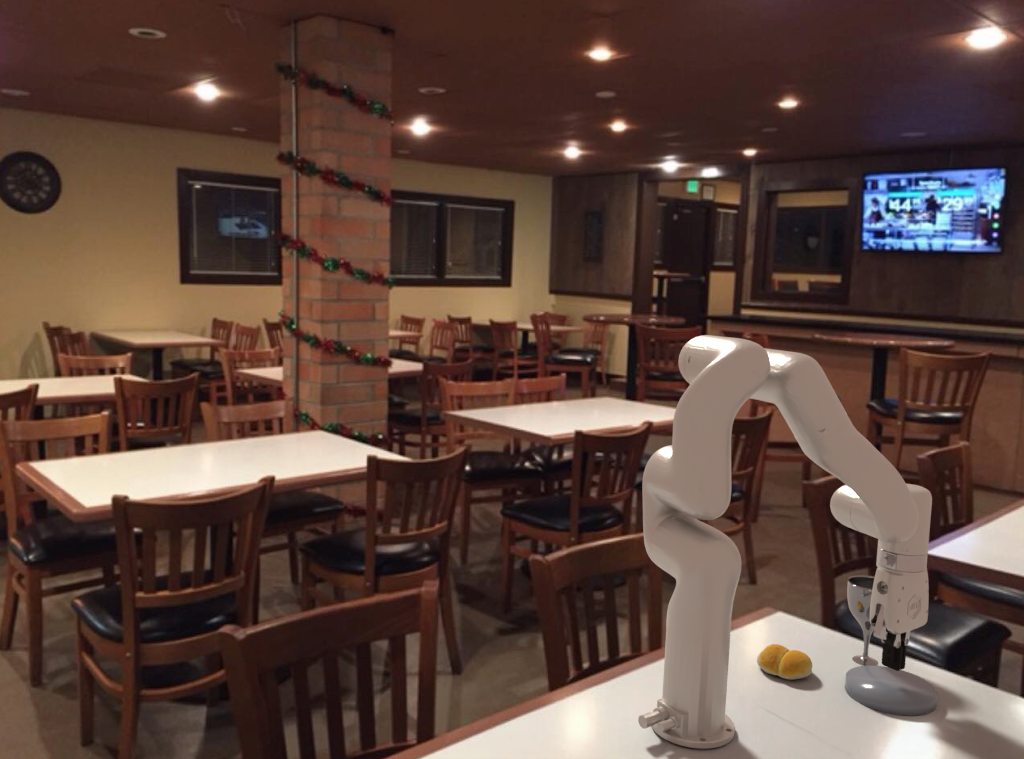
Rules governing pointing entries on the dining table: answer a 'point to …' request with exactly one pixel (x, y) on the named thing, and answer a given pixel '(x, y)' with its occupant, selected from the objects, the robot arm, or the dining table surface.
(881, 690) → the plate
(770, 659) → the bread roll
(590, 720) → the dining table surface
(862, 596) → the wine glass
